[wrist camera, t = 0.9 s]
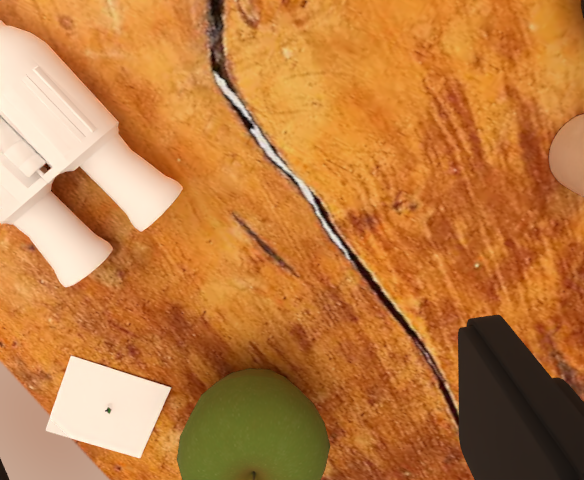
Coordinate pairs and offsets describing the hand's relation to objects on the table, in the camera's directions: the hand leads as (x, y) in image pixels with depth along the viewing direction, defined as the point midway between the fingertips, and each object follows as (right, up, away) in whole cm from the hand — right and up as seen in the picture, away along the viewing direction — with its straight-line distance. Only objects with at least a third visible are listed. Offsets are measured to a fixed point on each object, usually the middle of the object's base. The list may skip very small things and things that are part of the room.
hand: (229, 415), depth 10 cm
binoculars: (-15, +10, +25) cm, 30 cm away
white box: (-12, -10, +35) cm, 39 cm away
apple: (-2, -9, +34) cm, 35 cm away
